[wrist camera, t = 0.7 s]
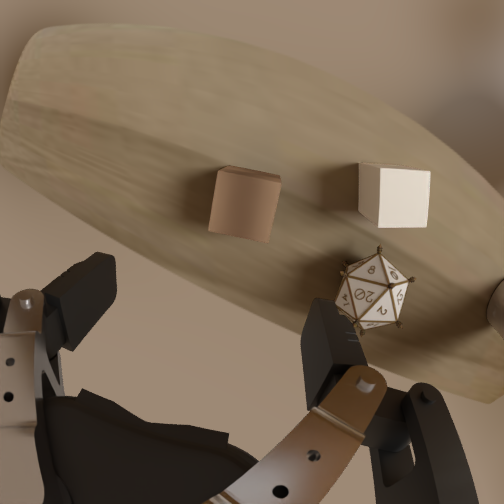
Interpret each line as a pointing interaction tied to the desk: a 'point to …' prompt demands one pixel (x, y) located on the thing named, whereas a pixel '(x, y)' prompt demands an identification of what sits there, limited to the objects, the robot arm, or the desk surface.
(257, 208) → the walnut block
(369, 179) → the white block
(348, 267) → the game die
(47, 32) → the desk surface
